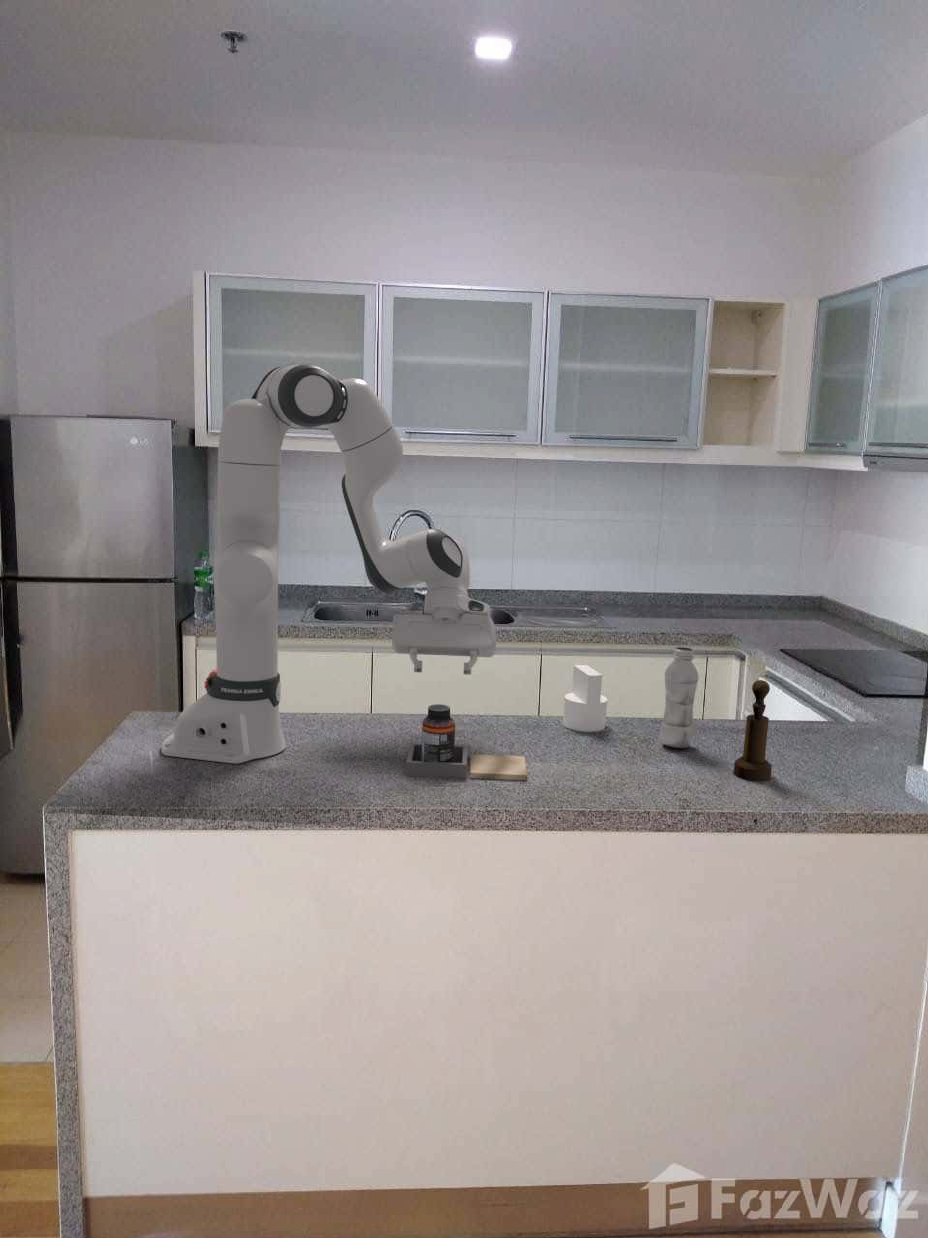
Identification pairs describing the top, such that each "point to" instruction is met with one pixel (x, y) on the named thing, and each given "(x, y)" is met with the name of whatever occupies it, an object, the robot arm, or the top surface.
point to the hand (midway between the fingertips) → (442, 672)
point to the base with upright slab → (585, 701)
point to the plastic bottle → (679, 700)
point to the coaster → (498, 767)
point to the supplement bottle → (438, 735)
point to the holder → (436, 764)
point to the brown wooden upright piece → (755, 740)
